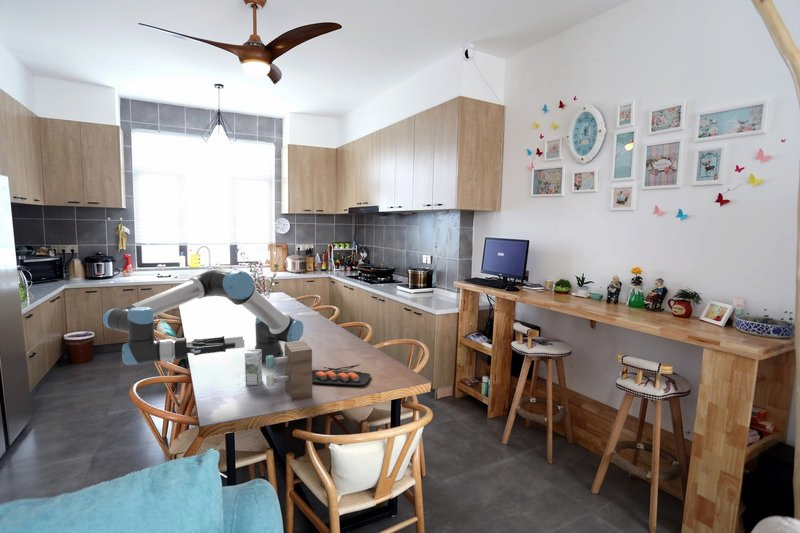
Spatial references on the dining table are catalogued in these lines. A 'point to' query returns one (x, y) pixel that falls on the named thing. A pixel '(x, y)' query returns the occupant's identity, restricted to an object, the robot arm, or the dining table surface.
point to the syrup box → (253, 366)
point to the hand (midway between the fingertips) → (243, 341)
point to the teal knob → (275, 360)
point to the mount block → (298, 370)
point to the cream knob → (275, 380)
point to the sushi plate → (340, 377)
